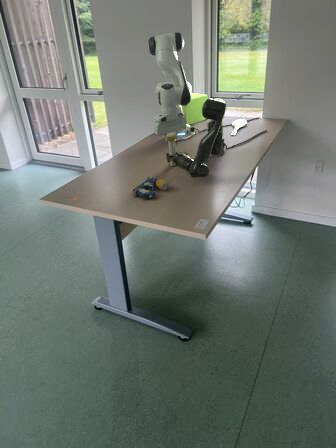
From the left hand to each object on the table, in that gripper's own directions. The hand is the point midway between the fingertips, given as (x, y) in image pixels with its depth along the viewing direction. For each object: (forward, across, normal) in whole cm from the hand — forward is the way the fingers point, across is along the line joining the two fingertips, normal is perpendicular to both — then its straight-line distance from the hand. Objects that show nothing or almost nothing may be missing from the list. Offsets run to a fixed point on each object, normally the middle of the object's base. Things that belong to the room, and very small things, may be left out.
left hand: (171, 139), depth 195 cm
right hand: (+9, 0, -3) cm, 10 cm away
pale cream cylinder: (+15, 0, 0) cm, 15 cm away
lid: (-2, 0, 0) cm, 2 cm away
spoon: (+16, -77, -28) cm, 83 cm away
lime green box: (+16, -67, -78) cm, 104 cm away
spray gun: (+15, +28, +24) cm, 40 cm away
